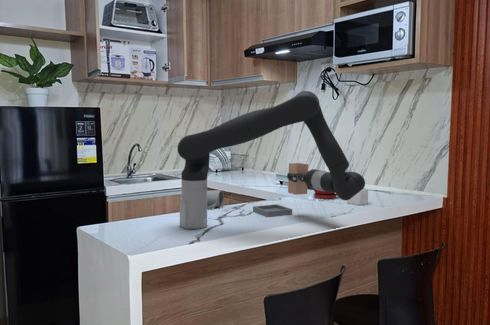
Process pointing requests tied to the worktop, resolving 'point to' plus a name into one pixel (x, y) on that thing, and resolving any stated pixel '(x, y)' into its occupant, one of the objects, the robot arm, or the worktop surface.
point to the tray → (272, 210)
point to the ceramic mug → (215, 199)
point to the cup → (297, 186)
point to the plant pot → (324, 194)
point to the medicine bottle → (359, 198)
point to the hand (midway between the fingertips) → (294, 175)
